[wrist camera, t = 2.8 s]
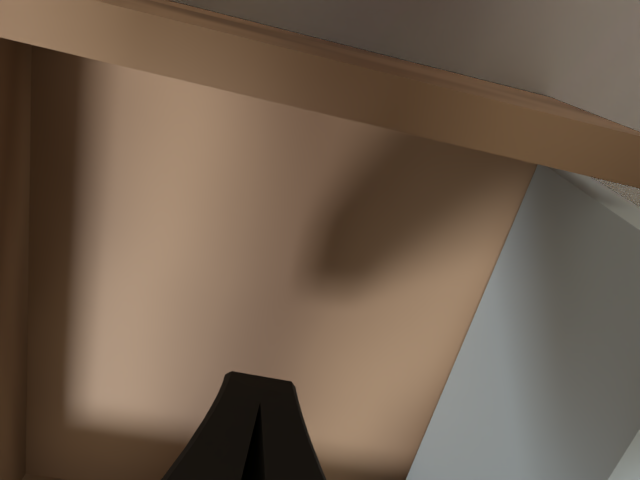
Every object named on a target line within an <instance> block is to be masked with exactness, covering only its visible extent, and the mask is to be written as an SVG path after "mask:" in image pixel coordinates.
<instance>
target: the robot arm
mask: <svg viewBox="0 0 640 480" xmlns="http://www.w3.org/2000/svg"><path fill="white" fill-rule="evenodd" d="M161 480H326V477H325V475H324V473H323V470H322V467H321V465H320V462H319V460H318V457H317V455H316V452H315V450H314V447H313V444H312V442H311V439H310V436H309V433H308V430H307V427H306V424H305V421H304V418H303V415H302V411H301V408H300V404H299V400H298V396H297V392H296V387H295V386H294V384H293V383H292V381H287V380H281V379H275V378H269V377H263V376H258V375H252V374H246V373H240V372H235V371H231V372H229V373H227V374H225V376H224V379H223V383H222V385H221V387H220V390H219V392H218V394H217V396H216V398H215V400H214V402H213V404H212V405H211V407H210V409H209V411H208V412H207V414H206V416H205V418H204V419H203V421H202V422H201V424H200V425H199V427H198V428H197V430H196V432H195V433H194V435H193V436H192V438H191V439H190V441H189V442H188V444H187V445H186V447H185V448H184V450H183V451H182V452H181V454H180V455H179V456H178V458H177V459H176V460H175V462H174V463H173V464H172V466H171V467H170V468H169V470H168V471H167V472H166V474H165V475H164V476H163V478H162V479H161Z"/></svg>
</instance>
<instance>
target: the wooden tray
mask: <svg viewBox="0 0 640 480" xmlns="http://www.w3.org/2000/svg"><path fill="white" fill-rule="evenodd" d="M538 164H539V165H543V166H547V167H551V168H556V169H560V170H564V171H568V172H573V173H577V174H581V175H585V176H590V177H594V178H598V179H602V180H607V181H611V182H615V183H619V184H623V185H628V186H632V187H636V188H640V132H638V131H636V130H633V129H631V128H628V127H625V126H623V125H620V124H618V123H615V122H613V121H610V120H608V119H605V118H602V117H600V116H597V115H595V114H592V113H590V112H587V111H584V110H582V109H579V108H577V107H574V106H572V105H569V104H567V103H564V102H561V101H559V100H556V99H554V98H551V97H548V96H544V95H540V94H536V93H532V92H528V91H524V90H520V89H516V88H512V87H508V86H504V85H500V84H497V83H493V82H489V81H485V80H481V79H477V78H473V77H469V76H465V75H461V74H457V73H453V72H449V71H445V70H441V69H437V68H433V67H429V66H425V65H421V64H418V63H414V62H410V61H406V60H402V59H398V58H394V57H390V56H386V55H382V54H378V53H374V52H370V51H366V50H362V49H358V48H354V47H350V46H346V45H343V44H339V43H335V42H331V41H327V40H323V39H319V38H315V37H311V36H307V35H303V34H299V33H295V32H291V31H287V30H283V29H279V28H275V27H271V26H268V25H264V24H260V23H256V22H252V21H248V20H244V19H240V18H236V17H232V16H228V15H224V14H220V13H216V12H212V11H208V10H204V9H200V8H196V7H193V6H189V5H185V4H181V3H177V2H173V1H169V0H0V480H161V479H162V478H163V476H164V475H165V474H166V472H167V471H168V470H169V468H170V467H171V466H172V464H173V463H174V462H175V460H176V459H177V458H178V456H179V455H180V454H181V452H182V451H183V450H184V448H185V447H186V445H187V444H188V442H189V441H190V439H191V438H192V436H193V435H194V433H195V432H196V430H197V428H198V427H199V425H200V424H201V422H202V421H203V419H204V418H205V416H206V414H207V412H208V411H209V409H210V407H211V405H212V404H213V402H214V400H215V398H216V396H217V394H218V392H219V390H220V387H221V385H222V383H223V379H224V376H225V374H227V373H229V372H231V371H235V372H240V373H246V374H252V375H258V376H263V377H269V378H275V379H281V380H287V381H292V383H293V384H294V386H295V387H296V392H297V396H298V400H299V404H300V408H301V411H302V415H303V418H304V421H305V424H306V427H307V430H308V433H309V436H310V439H311V442H312V444H313V447H314V450H315V452H316V455H317V457H318V460H319V462H320V465H321V467H322V470H323V473H324V475H325V477H326V480H406V478H407V476H408V473H409V471H410V468H411V466H412V464H413V461H414V459H415V456H416V454H417V452H418V449H419V447H420V444H421V442H422V440H423V437H424V435H425V433H426V430H427V428H428V425H429V423H430V421H431V418H432V416H433V413H434V411H435V409H436V406H437V404H438V401H439V399H440V397H441V394H442V392H443V390H444V387H445V385H446V382H447V380H448V378H449V375H450V373H451V370H452V368H453V366H454V363H455V361H456V358H457V356H458V354H459V351H460V349H461V346H462V344H463V342H464V339H465V337H466V335H467V332H468V330H469V327H470V325H471V323H472V320H473V318H474V315H475V313H476V311H477V308H478V306H479V303H480V301H481V299H482V296H483V294H484V292H485V289H486V287H487V284H488V282H489V280H490V277H491V275H492V272H493V270H494V268H495V265H496V263H497V260H498V258H499V256H500V253H501V251H502V249H503V246H504V244H505V241H506V239H507V237H508V234H509V232H510V229H511V227H512V225H513V222H514V220H515V217H516V215H517V213H518V210H519V208H520V206H521V203H522V201H523V198H524V196H525V194H526V191H527V189H528V186H529V184H530V182H531V179H532V177H533V174H534V172H535V170H536V167H537V165H538Z"/></svg>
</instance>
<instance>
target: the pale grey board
mask: <svg viewBox="0 0 640 480" xmlns="http://www.w3.org/2000/svg"><path fill="white" fill-rule="evenodd" d="M406 480H640V207H639V206H637V205H636V204H634V203H632V202H631V201H629V200H628V199H626V198H624V197H623V196H621V195H619V194H618V193H616V192H615V191H613V190H611V189H610V188H608V187H606V186H605V185H603V184H601V183H600V182H598V181H597V180H595V179H593V178H592V177H590V176H585V175H581V174H577V173H573V172H568V171H564V170H560V169H556V168H551V167H547V166H543V165H539V164H538V165H537V167H536V170H535V172H534V174H533V177H532V179H531V182H530V184H529V186H528V189H527V191H526V194H525V196H524V198H523V201H522V203H521V206H520V208H519V210H518V213H517V215H516V217H515V220H514V222H513V225H512V227H511V229H510V232H509V234H508V237H507V239H506V241H505V244H504V246H503V249H502V251H501V253H500V256H499V258H498V260H497V263H496V265H495V268H494V270H493V272H492V275H491V277H490V280H489V282H488V284H487V287H486V289H485V292H484V294H483V296H482V299H481V301H480V303H479V306H478V308H477V311H476V313H475V315H474V318H473V320H472V323H471V325H470V327H469V330H468V332H467V335H466V337H465V339H464V342H463V344H462V346H461V349H460V351H459V354H458V356H457V358H456V361H455V363H454V366H453V368H452V370H451V373H450V375H449V378H448V380H447V382H446V385H445V387H444V390H443V392H442V394H441V397H440V399H439V401H438V404H437V406H436V409H435V411H434V413H433V416H432V418H431V421H430V423H429V425H428V428H427V430H426V433H425V435H424V437H423V440H422V442H421V444H420V447H419V449H418V452H417V454H416V456H415V459H414V461H413V464H412V466H411V468H410V471H409V473H408V476H407V478H406Z"/></svg>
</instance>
